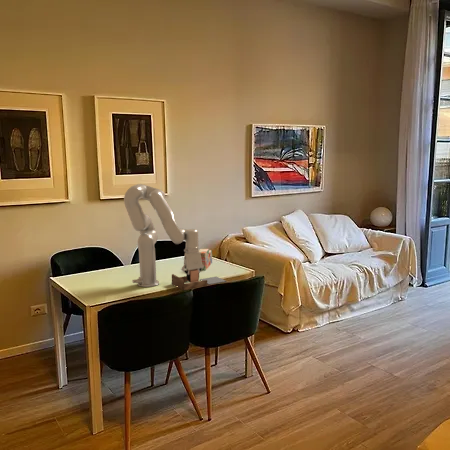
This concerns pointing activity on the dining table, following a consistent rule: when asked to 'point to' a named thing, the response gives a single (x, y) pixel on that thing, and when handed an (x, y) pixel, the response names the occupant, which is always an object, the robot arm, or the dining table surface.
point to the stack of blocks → (206, 257)
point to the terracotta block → (194, 275)
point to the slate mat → (213, 280)
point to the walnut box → (180, 283)
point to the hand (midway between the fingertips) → (193, 279)
